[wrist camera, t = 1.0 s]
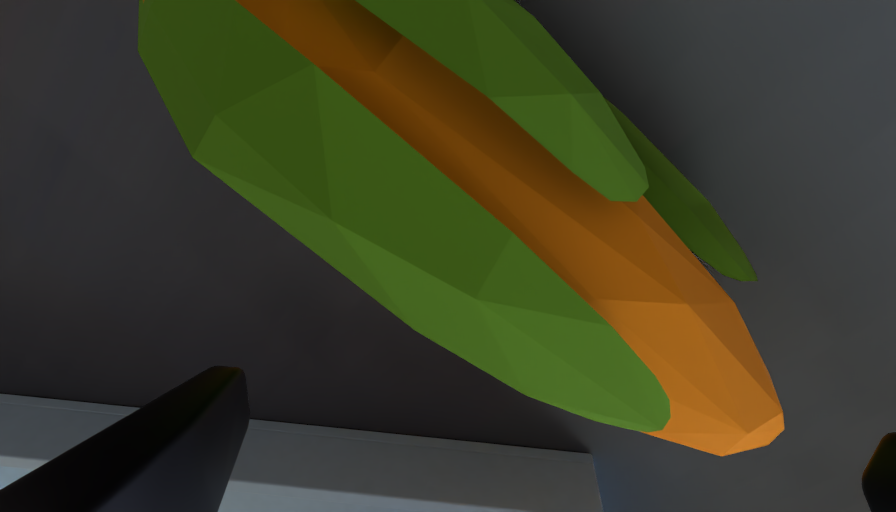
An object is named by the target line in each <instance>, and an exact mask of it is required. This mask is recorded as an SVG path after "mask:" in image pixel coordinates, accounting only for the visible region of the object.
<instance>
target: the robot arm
mask: <svg viewBox="0 0 896 512" xmlns="http://www.w3.org/2000/svg"><path fill="white" fill-rule="evenodd" d="M249 420H250V408H249V400H248V392H247V383H246V376H245V373H244V371H243V370H242V369H240V368H238V367H228V366H212V367H210V368H208V369H207V370H205V371H203V372H201V373H200V374H198V375H196V376H195V377H193V378H191V379H189V380H188V381H186V382H184V383H183V384H181V385H179V386H177V387H176V388H174V389H172V390H170V391H169V392H167V393H165V394H164V395H162V396H160V397H158V398H157V399H155V400H153V401H152V402H150V403H148V404H146V405H145V406H143V407H141V408H140V409H138V410H136V411H134V412H133V413H131V414H129V415H128V416H126V417H124V418H122V419H121V420H119V421H117V422H116V423H114V424H112V425H110V426H109V427H107V428H105V429H104V430H102V431H100V432H98V433H97V434H95V435H93V436H92V437H90V438H88V439H86V440H85V441H83V442H81V443H80V444H78V445H76V446H74V447H73V448H71V449H69V450H68V451H66V452H64V453H62V454H61V455H59V456H57V457H56V458H54V459H52V460H50V461H49V462H47V463H45V464H44V465H42V466H40V467H38V468H37V469H35V470H33V471H31V472H30V473H28V474H26V475H25V476H23V477H21V478H19V479H18V480H16V481H14V482H13V483H11V484H9V485H7V486H6V487H4V488H2V489H1V490H0V512H218V510H219V507H220V504H221V501H222V498H223V496H224V493H225V490H226V487H227V485H228V482H229V479H230V476H231V473H232V471H233V468H234V465H235V462H236V460H237V457H238V454H239V451H240V448H241V446H242V443H243V440H244V437H245V434H246V432H247V429H248V425H249ZM862 489H863V492H864V495H865V498H866V500H867V503H868V505H869V507H870V510H871V512H896V432H892V433H888V434H887V435H885V436H884V437H883V438H882V439H881V441H880V443H879V445H878V446H877V448H876V450H875V452H874V454H873V455H872V457H871V459H870V461H869V463H868V465H867V466H866V468H865V470H864V472H863V475H862Z"/></svg>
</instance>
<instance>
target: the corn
mask: <svg viewBox="0 0 896 512" xmlns="http://www.w3.org/2000/svg"><path fill="white" fill-rule="evenodd" d="M138 52H139V54H140V56H141V58H142V60H143V62H144V64H145V66H146V68H147V70H148V72H149V74H150V76H151V78H152V80H153V82H154V84H155V86H156V88H157V89H158V91H159V93H160V95H161V97H162V99H163V101H164V103H165V105H166V107H167V109H168V111H169V113H170V115H171V117H172V119H173V121H174V123H175V125H176V127H177V129H178V131H179V133H180V135H181V136H182V138H183V140H184V142H185V144H186V146H187V148H188V150H189V152H190V154H191V156H192V158H194V159H195V160H196V161H198V162H199V163H200V164H201V165H203V166H204V167H205V168H207V169H208V170H209V171H210V172H212V173H213V174H214V175H216V176H217V177H218V178H219V179H221V180H222V181H223V182H225V183H226V184H227V185H228V186H230V187H231V188H232V189H234V190H235V191H236V192H237V193H239V194H240V195H241V196H243V197H244V198H245V199H246V200H248V201H249V202H250V203H252V204H253V205H254V206H255V207H257V208H258V209H259V210H261V211H262V212H263V213H264V214H266V215H267V216H268V217H270V218H271V219H272V220H273V221H275V222H276V223H277V224H279V225H280V226H281V227H282V228H284V229H285V230H286V231H288V232H289V233H290V234H291V235H293V236H294V237H295V238H297V239H298V240H299V241H300V242H302V243H303V244H304V245H306V246H307V247H308V248H309V249H311V250H312V251H313V252H315V253H316V254H317V255H318V256H320V257H321V258H322V259H324V260H325V261H326V262H327V263H329V264H330V265H331V266H333V267H334V268H335V269H337V270H338V271H339V272H340V273H342V274H343V275H344V276H346V277H347V278H348V279H349V280H351V281H352V282H353V283H355V284H356V285H357V286H358V287H360V288H361V289H362V290H364V291H365V292H366V293H367V294H369V295H370V296H371V297H373V298H374V299H375V300H376V301H378V302H379V303H380V304H382V305H383V306H384V307H385V308H387V309H388V310H389V311H391V312H392V313H393V314H394V315H396V316H397V317H398V318H400V319H401V320H402V321H403V322H405V323H406V324H407V325H409V326H410V327H411V328H412V329H414V330H415V331H417V332H418V333H420V334H422V335H424V336H425V337H427V338H429V339H430V340H432V341H434V342H435V343H437V344H439V345H441V346H442V347H444V348H446V349H447V350H449V351H451V352H452V353H454V354H456V355H458V356H459V357H461V358H463V359H464V360H466V361H468V362H470V363H471V364H473V365H475V366H476V367H478V368H480V369H481V370H483V371H485V372H487V373H488V374H490V375H492V376H493V377H495V378H497V379H499V380H500V381H502V382H504V383H505V384H507V385H509V386H510V387H512V388H514V389H516V390H517V391H519V392H521V393H522V394H524V395H526V396H529V397H531V398H534V399H537V400H539V401H542V402H545V403H547V404H550V405H553V406H556V407H558V408H561V409H564V410H566V411H569V412H572V413H574V414H577V415H580V416H582V417H585V418H588V419H590V420H593V421H597V422H601V423H605V424H609V425H613V426H617V427H621V428H625V429H631V430H637V431H640V432H642V433H645V434H649V435H652V436H655V437H659V438H662V439H665V440H669V441H672V442H675V443H679V444H682V445H685V446H689V447H692V448H695V449H698V450H702V451H705V452H708V453H712V454H715V455H718V456H725V455H729V454H733V453H738V452H742V451H746V450H750V449H754V448H758V447H762V446H766V445H769V444H770V443H771V442H772V441H773V440H774V439H775V438H776V437H777V436H778V435H779V434H780V433H781V432H782V431H783V430H784V419H783V410H782V408H781V405H780V402H779V399H778V397H777V394H776V391H775V388H774V386H773V383H772V380H771V377H770V375H769V372H768V370H767V368H766V366H765V364H764V362H763V360H762V358H761V356H760V354H759V352H758V350H757V348H756V346H755V344H754V341H753V339H752V337H751V335H750V333H749V331H748V329H747V327H746V325H745V323H744V321H743V319H742V317H741V315H740V313H739V311H738V309H737V307H736V305H735V303H734V302H733V300H732V299H731V298H730V297H729V296H728V294H727V293H726V292H725V291H724V290H723V289H722V287H721V286H720V285H719V284H718V283H717V282H716V280H715V279H714V278H713V277H712V276H711V275H710V273H709V272H708V271H707V270H706V269H705V268H704V266H703V265H702V264H701V263H700V262H699V260H698V259H697V258H696V257H695V256H694V255H693V253H692V252H694V253H695V254H696V255H697V256H698V257H700V258H701V259H702V260H704V261H705V262H706V263H708V264H709V265H710V266H712V267H713V268H714V269H716V270H717V271H718V272H720V273H721V274H722V275H724V276H727V277H730V278H733V279H736V280H739V281H758V280H757V276H756V273H755V271H754V270H753V268H752V266H751V264H750V262H749V260H748V259H747V257H746V255H745V253H744V252H743V250H742V249H741V247H740V246H739V244H738V243H737V241H736V240H735V238H734V237H733V236H732V234H731V233H730V231H729V230H728V228H727V227H726V225H725V224H724V222H723V221H722V220H721V218H720V217H719V215H718V214H717V212H716V211H715V209H714V208H713V206H712V205H711V204H710V202H709V201H708V200H707V199H706V198H705V197H704V196H703V195H702V194H701V193H700V192H699V191H698V190H697V189H696V188H695V187H694V186H693V185H692V184H691V183H690V182H689V181H688V180H687V179H686V178H685V176H684V175H683V174H682V173H681V172H680V171H679V170H678V169H677V168H676V167H675V166H674V165H673V164H672V163H671V162H670V161H669V160H668V159H667V158H666V157H665V156H664V155H663V154H662V153H661V152H660V151H659V150H658V149H657V148H656V147H655V146H654V145H653V144H652V143H651V142H650V141H649V140H648V139H647V138H646V137H645V135H644V134H643V133H642V132H641V131H640V130H639V129H638V128H637V127H636V126H635V125H634V124H633V123H632V122H631V121H630V120H629V119H628V118H627V117H626V116H625V115H624V114H623V113H622V112H621V111H620V110H618V109H617V108H616V107H615V106H614V105H613V104H611V103H610V102H609V101H608V100H607V99H606V98H605V97H603V96H602V94H601V93H600V92H599V90H598V89H597V88H596V87H595V86H594V85H593V84H592V82H591V81H590V80H589V79H588V78H587V77H586V76H585V74H584V73H583V72H582V71H581V70H580V69H579V68H578V66H577V65H576V64H575V63H574V62H573V61H572V59H571V58H570V57H569V56H568V55H567V54H566V53H565V51H564V50H563V49H562V48H561V47H560V46H559V45H558V43H557V42H556V41H555V40H554V39H553V38H552V37H551V35H550V34H549V33H548V32H547V31H546V30H545V29H544V27H543V26H542V25H541V24H540V23H539V22H538V20H537V19H536V18H535V17H534V16H533V15H531V14H530V13H529V12H528V11H526V10H525V9H524V8H523V7H521V6H520V5H519V4H518V3H516V2H515V1H514V0H139V21H138ZM687 247H688V248H689V249H690V250H691V251H692V252H691V251H690V250H689V249H688V248H687Z"/></svg>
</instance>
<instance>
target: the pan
mask: <svg viewBox="0 0 896 512" xmlns="http://www.w3.org/2000/svg"><path fill="white" fill-rule="evenodd" d="M138 409H140V408H137V407H127V406H117V405H107V404H98V403H88V402H78V401H68V400H59V399H49V398H39V397H29V396H19V395H10V394H0V490H1V489H2V488H4V487H6V486H7V485H9V484H11V483H13V482H14V481H16V480H18V479H19V478H21V477H23V476H25V475H26V474H28V473H30V472H31V471H33V470H35V469H37V468H38V467H40V466H42V465H44V464H45V463H47V462H49V461H50V460H52V459H54V458H56V457H57V456H59V455H61V454H62V453H64V452H66V451H68V450H69V449H71V448H73V447H74V446H76V445H78V444H80V443H81V442H83V441H85V440H86V439H88V438H90V437H92V436H93V435H95V434H97V433H98V432H100V431H102V430H104V429H105V428H107V427H109V426H110V425H112V424H114V423H116V422H117V421H119V420H121V419H122V418H124V417H126V416H128V415H129V414H131V413H133V412H134V411H136V410H138ZM593 464H594V462H593V457H592V454H587V453H578V452H568V451H558V450H548V449H538V448H529V447H519V446H509V445H499V444H489V443H480V442H470V441H460V440H450V439H440V438H431V437H421V436H411V435H401V434H391V433H382V432H372V431H362V430H352V429H343V428H333V427H323V426H313V425H303V424H294V423H284V422H274V421H264V420H254V419H250V420H249V425H248V429H247V432H246V434H245V437H244V440H243V443H242V446H241V448H240V451H239V454H238V457H237V460H236V462H235V465H234V468H233V471H232V473H231V476H230V479H229V482H228V485H227V487H226V490H225V493H224V496H223V498H222V501H221V504H220V507H219V510H218V512H603V507H602V502H601V498H600V493H599V488H598V483H597V478H596V473H595V468H594V465H593Z"/></svg>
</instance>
